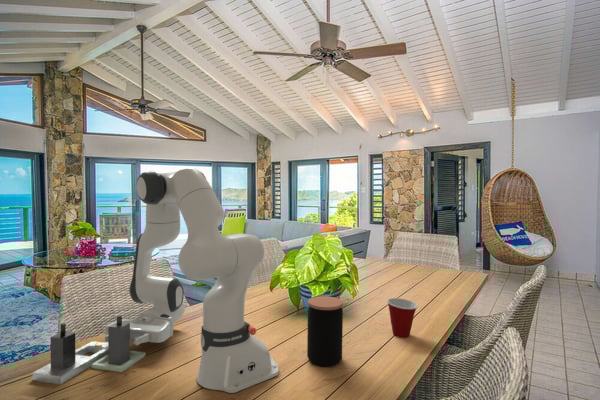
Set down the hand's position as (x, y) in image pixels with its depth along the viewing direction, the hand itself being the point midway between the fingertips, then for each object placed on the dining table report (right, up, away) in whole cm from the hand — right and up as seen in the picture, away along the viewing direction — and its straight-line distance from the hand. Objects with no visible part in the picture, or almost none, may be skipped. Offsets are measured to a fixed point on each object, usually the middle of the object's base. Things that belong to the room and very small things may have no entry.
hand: (120, 340), depth 104 cm
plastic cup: (+90, -7, +23) cm, 93 cm away
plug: (0, -6, 0) cm, 6 cm away
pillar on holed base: (-11, -6, -2) cm, 13 cm away
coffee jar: (+61, -7, +3) cm, 61 cm away
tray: (0, -6, 0) cm, 7 cm away
